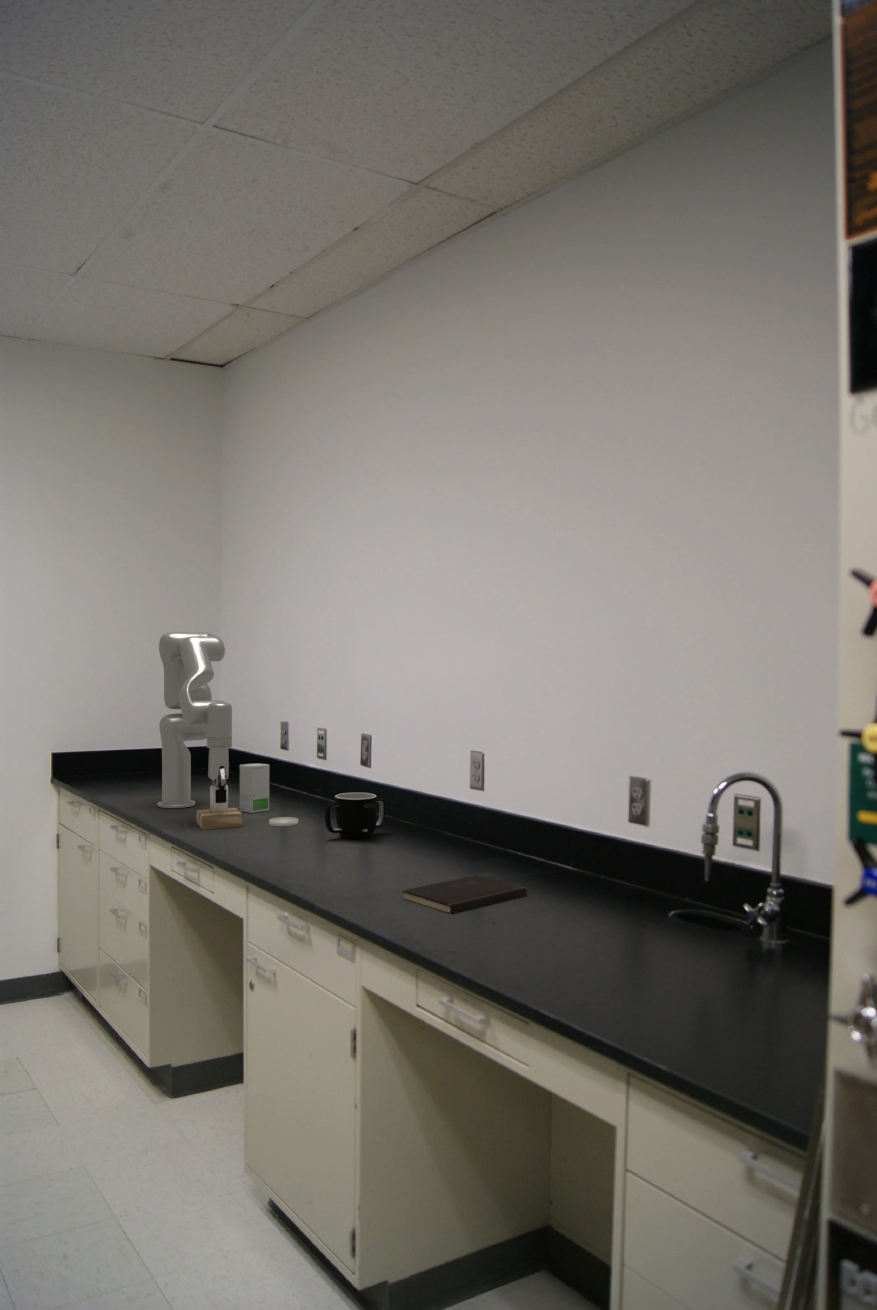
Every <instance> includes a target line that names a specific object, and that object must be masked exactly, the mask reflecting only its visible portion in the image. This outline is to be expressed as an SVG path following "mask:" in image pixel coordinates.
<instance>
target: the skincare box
mask: <svg viewBox="0 0 877 1310" xmlns="http://www.w3.org/2000/svg"><path fill="white" fill-rule="evenodd" d="M238 810H239V811H240V812H241V813H248V814H249V813H250V814H252V813H253V814H254V813H259V812H260V813H261V812H267V811H270V764H267V763H257V762H256V763H247V764H246V763H245V764H239V809H238Z"/></svg>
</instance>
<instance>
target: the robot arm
mask: <svg viewBox="0 0 877 1310" xmlns="http://www.w3.org/2000/svg"><path fill="white" fill-rule="evenodd" d="M158 652H159V655H160V659H161V662H162V666H163V701H164V706H165V707H166V708H167V709H170V710H180V711H181V712H180V713H177V712H176V713H170V714H169V713H168V714H165V715H164V716H162V718H161V719H160V720H159V727H158V729H159V734H160V740H161V771H162V772H161V774H162V775H161V784H162V785H161V800H160V801H158V802H157V803H156V804H157V807H158V808H164V809H183V808H189V807H193V806H195V805H196V801H195V800H193V799H191V796H192V795H191V791H192V789H191V787H192V784H191V783H192V782H191V781H192V780H191V779H192V775H191V774H192V773H191V771H192V765H191V762H192V759H191V758H192V755H191V751H190V750H189V748H188V747H187V746H186V744H185V743H184V742H191V741H204V740H206V748H207V749H209V750H208V766H207V767H208V771H207V777H208V779H210V780H211V781H212V784H211V785H214V782H215V781H216V787H217V790H216V803H226V785H227V780H228V779H229V773H230V772H229V771H230V769H229V767H230V762H229V758H230V757H229V755H230V754H229V749H231V748H233V747H232V746H233V707H232V704H231V703H229V702H226V701H224V700H219V699H218V700H217V699H216V700H212V698H213V697H212V692H211V691H212V690H211V687H210V685H209V683H210V682H211V681H212V680H213V678H214V677H215V673H214V669H213V665H212V662H220V661H222V660H223V659H224V657H225V654H226V647H225V644H224V641H223V640H222V638H221V637H219V635H218V636H217V635H216V634H214V633H211V632H206V631H205V632H203V631H201V632H200V631H199V632H198V631H196V632H195V631H170V632H166V633H163V634H162V635H161V636H160V639H159V642H158Z"/></svg>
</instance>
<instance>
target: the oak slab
mask: <svg viewBox="0 0 877 1310" xmlns="http://www.w3.org/2000/svg"><path fill="white" fill-rule="evenodd" d="M196 824H197V825H198V826H199V827H200V828H201V830H212V829H214V830H216V829H227V828H228V829H230V828H243V812H241V811H239V809H238V808H237V807H228V812H225V813H211V812H210V808H205V809H204V808H203V809H196Z"/></svg>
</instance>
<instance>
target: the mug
mask: <svg viewBox="0 0 877 1310" xmlns="http://www.w3.org/2000/svg"><path fill="white" fill-rule="evenodd" d="M377 804H379V805H377ZM377 806H379V809H378V810H379V812H378V813H379V814H378V815H379V816H378V819H377ZM333 808H334V811H335V820H336V826H337V828H333V825H332V809H333ZM385 819H386V801H385V800H384V799H383V798H381V797H377V795H376V794H374V793H370V792H343V793H342V792H341V793H339V794H335V796H334V801H333V802H329V803H327V804H326V806H325V807H324V824H325V826H326V829H327V831H328V832H329V833H331V834H339V836H340V837H342V838H343V839H348V840H360V839H367V838H369V837H370V836H372V835H373V834H374V833H375V831H376V829H377V828H378V829H379V828H380V827H382V826H383V824H384V822H385Z"/></svg>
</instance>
